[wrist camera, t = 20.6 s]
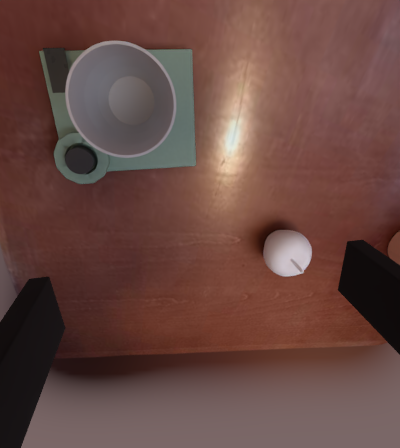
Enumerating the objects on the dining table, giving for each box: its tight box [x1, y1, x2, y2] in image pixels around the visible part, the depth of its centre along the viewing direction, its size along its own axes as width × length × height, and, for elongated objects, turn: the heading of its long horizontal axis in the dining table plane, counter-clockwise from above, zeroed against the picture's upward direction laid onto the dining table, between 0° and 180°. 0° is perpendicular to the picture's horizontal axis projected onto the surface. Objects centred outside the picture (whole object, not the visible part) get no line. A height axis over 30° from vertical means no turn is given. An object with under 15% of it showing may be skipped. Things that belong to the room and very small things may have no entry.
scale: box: [39, 49, 196, 184], centre depth 34 cm, size 16×14×4 cm
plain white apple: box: [263, 230, 312, 276], centre depth 42 cm, size 7×7×8 cm
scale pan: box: [43, 48, 69, 93], centre depth 30 cm, size 12×9×1 cm
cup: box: [65, 41, 176, 158], centre depth 26 cm, size 8×8×10 cm
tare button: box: [65, 146, 96, 174], centre depth 33 cm, size 3×3×2 cm
